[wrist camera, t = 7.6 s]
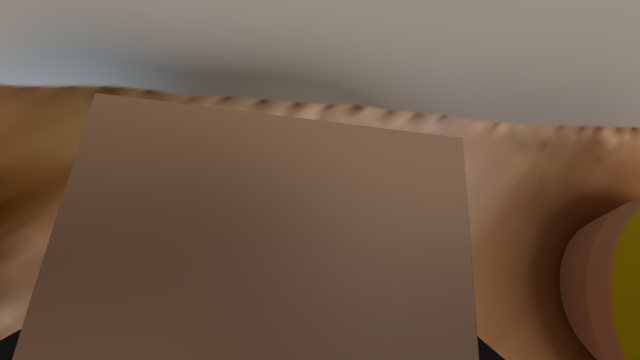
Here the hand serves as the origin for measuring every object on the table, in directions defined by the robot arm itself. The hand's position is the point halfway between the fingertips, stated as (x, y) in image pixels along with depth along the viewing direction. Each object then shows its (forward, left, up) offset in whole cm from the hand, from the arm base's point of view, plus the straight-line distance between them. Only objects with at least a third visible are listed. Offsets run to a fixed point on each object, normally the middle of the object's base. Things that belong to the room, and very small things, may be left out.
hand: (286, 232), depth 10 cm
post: (-2, 0, -8) cm, 8 cm away
